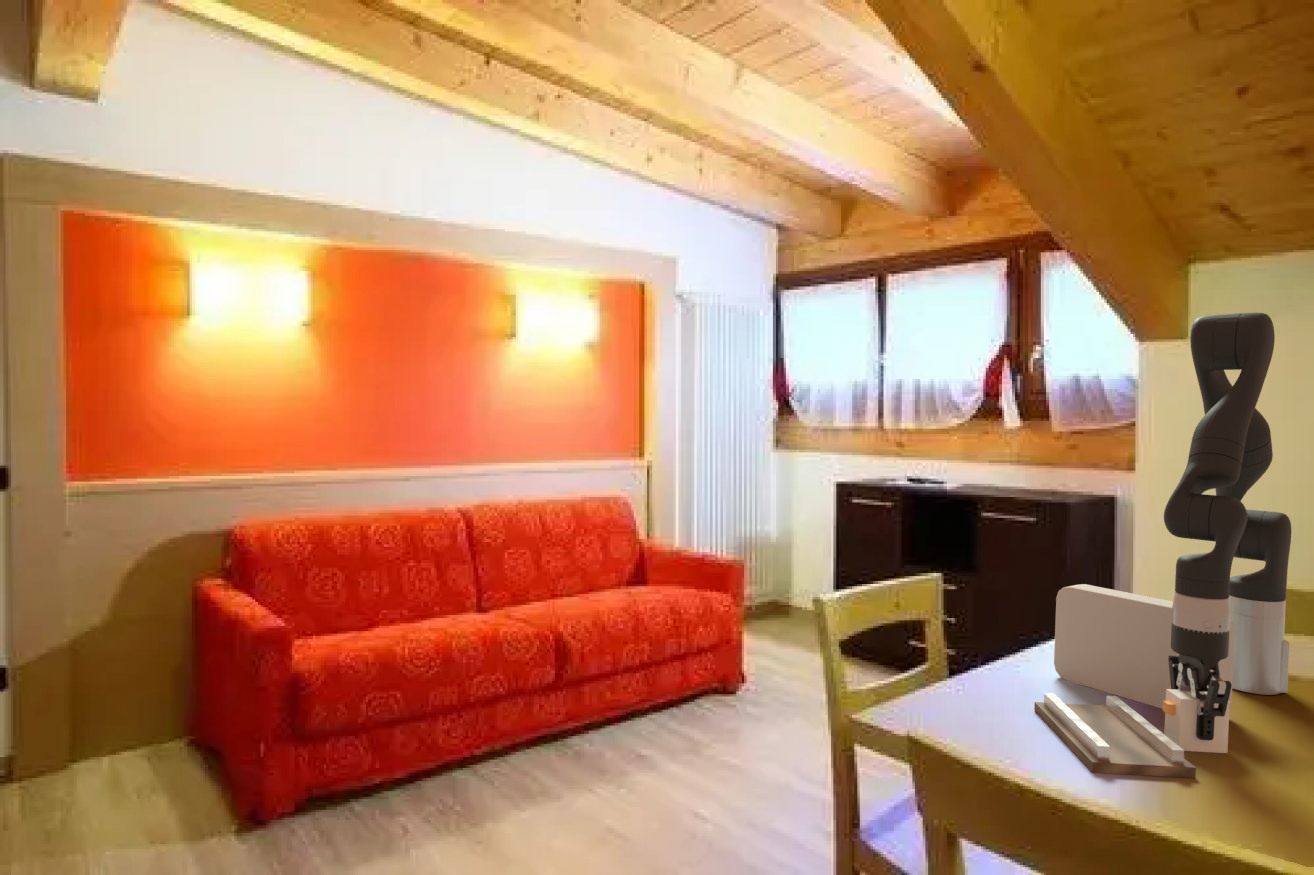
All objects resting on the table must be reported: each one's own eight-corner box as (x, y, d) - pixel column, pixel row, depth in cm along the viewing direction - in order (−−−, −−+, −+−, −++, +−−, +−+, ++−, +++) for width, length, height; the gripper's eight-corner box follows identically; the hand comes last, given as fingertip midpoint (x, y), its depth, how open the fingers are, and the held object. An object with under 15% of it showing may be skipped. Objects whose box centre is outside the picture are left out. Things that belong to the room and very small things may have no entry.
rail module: (1211, 741, 132) (1213, 691, 132) (1227, 753, 128) (1229, 701, 127) (1156, 738, 133) (1158, 688, 133) (1171, 750, 129) (1173, 698, 128)
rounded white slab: (1237, 716, 143) (1242, 611, 142) (1216, 725, 139) (1221, 617, 138) (1075, 670, 167) (1078, 580, 166) (1053, 676, 163) (1056, 584, 162)
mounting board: (1120, 714, 143) (1120, 706, 143) (1195, 778, 119) (1195, 767, 119) (1034, 710, 144) (1034, 702, 144) (1091, 772, 120) (1092, 762, 120)
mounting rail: (1115, 707, 142) (1116, 696, 142) (1183, 764, 120) (1184, 750, 120) (1043, 704, 143) (1044, 692, 143) (1097, 759, 121) (1098, 745, 121)
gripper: (1254, 637, 122) (1248, 753, 123) (1201, 612, 136) (1196, 716, 137) (1199, 635, 123) (1194, 750, 124) (1152, 611, 137) (1148, 714, 138)
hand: (1195, 732), depth 130 cm, fingers closed on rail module, 4 cm apart
